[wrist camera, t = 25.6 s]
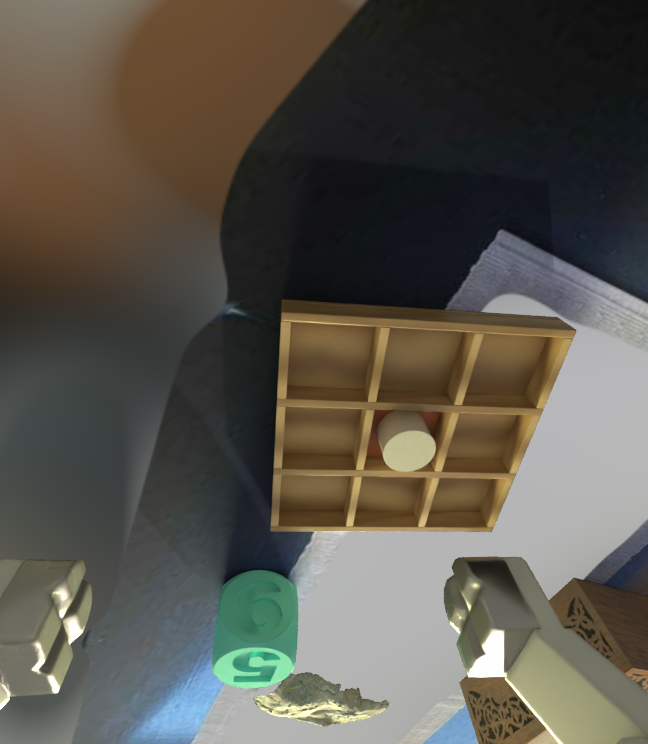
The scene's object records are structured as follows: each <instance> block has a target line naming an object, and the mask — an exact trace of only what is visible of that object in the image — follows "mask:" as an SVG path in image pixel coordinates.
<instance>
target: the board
mask: <svg viewBox="0 0 648 744" xmlns="http://www.w3.org/2000/svg"><path fill="white" fill-rule="evenodd" d="M575 333H576V329H574V328H572V327H571V326H569V325H568V324H567V323H565V322H564V321H562V320H561V319H559V318H558V317H546V316H530V315H515V314H499V313H485V312H469V311H454V310H439V309H424V308H408V307H393V306H378V305H363V304H347V303H332V302H317V301H301V300H286V299H282V305H281V325H280V345H279V365H278V386H277V406H276V426H275V446H274V467H273V487H272V507H271V531H343V532H350V531H351V532H354V531H355V532H361V531H362V532H365V531H366V532H369V531H370V532H492V530H493V528H494V525H495V523H496V521H497V518H498V516H499V514H500V511H501V509H502V507H503V504H504V502H505V500H506V497H507V495H508V492H509V490H510V487H511V485H512V483H513V480H514V478H515V476H516V473H517V471H518V468H519V466H520V464H521V461H522V459H523V457H524V454H525V452H526V449H527V447H528V445H529V442H530V440H531V437H532V435H533V433H534V430H535V428H536V426H537V423H538V421H539V418H540V415H541V414H542V412H543V408H544V406H545V404H546V402H547V399H548V397H549V395H550V392H551V390H552V388H553V385H554V383H555V381H556V378H557V376H558V373H559V371H560V369H561V366H562V364H563V362H564V359H565V357H566V354H567V352H568V350H569V347H570V345H571V343H572V340H573V338H574V335H575ZM396 410H404V411H416V412H418V413H419V414H420V415H421V416H422V417H423V418H424V420H425V422H426V424H427V426H428V428H429V430H430V432H431V435H432V437H433V439H434V441H435V444H436V451H435V454H434V456H433V458H432V459H431V461H430V462H429V463H428V464H427V465H425V466H424V467H422V468H420V469H418V470H415V471H410V472H401V471H396V470H394V469H392V468H390V467H389V466H388V465H387V464H386V463H385V461H384V459H383V455H382V452H381V449H380V445H379V442H378V439H377V435H376V431H377V426H378V424H379V422H380V421H381V420H382V418H383V417H384V416H386V415H387V414H389V413H391V412H393V411H396Z"/></svg>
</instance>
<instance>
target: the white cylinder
mask: <svg viewBox="0 0 648 744" xmlns="http://www.w3.org/2000/svg"><path fill="white" fill-rule="evenodd" d="M376 435H377V439H378V442H379V445H380V449H381V452H382V455H383V459H384V461H385V463H386V464H387V465H388V466H389V467H390V468H392V469H394V470H396V471H401V472H410V471H415V470H418V469H420V468H422V467H424V466H425V465H427V464H428V463H429V462H430V461H431V459H432V458H433V456H434V454H435V451H436V444H435V441H434V439H433V437H432V435H431V432H430V430H429V428H428V426H427V424H426V422H425V420H424V418H423V417H422V416H421V415H420V414H419V413H418V412H416V411H404V410H396V411H393V412H391V413H389V414H387V415H386V416H384V417H383V418H382V420H381V421H380V422H379V424H378V426H377V431H376Z"/></svg>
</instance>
